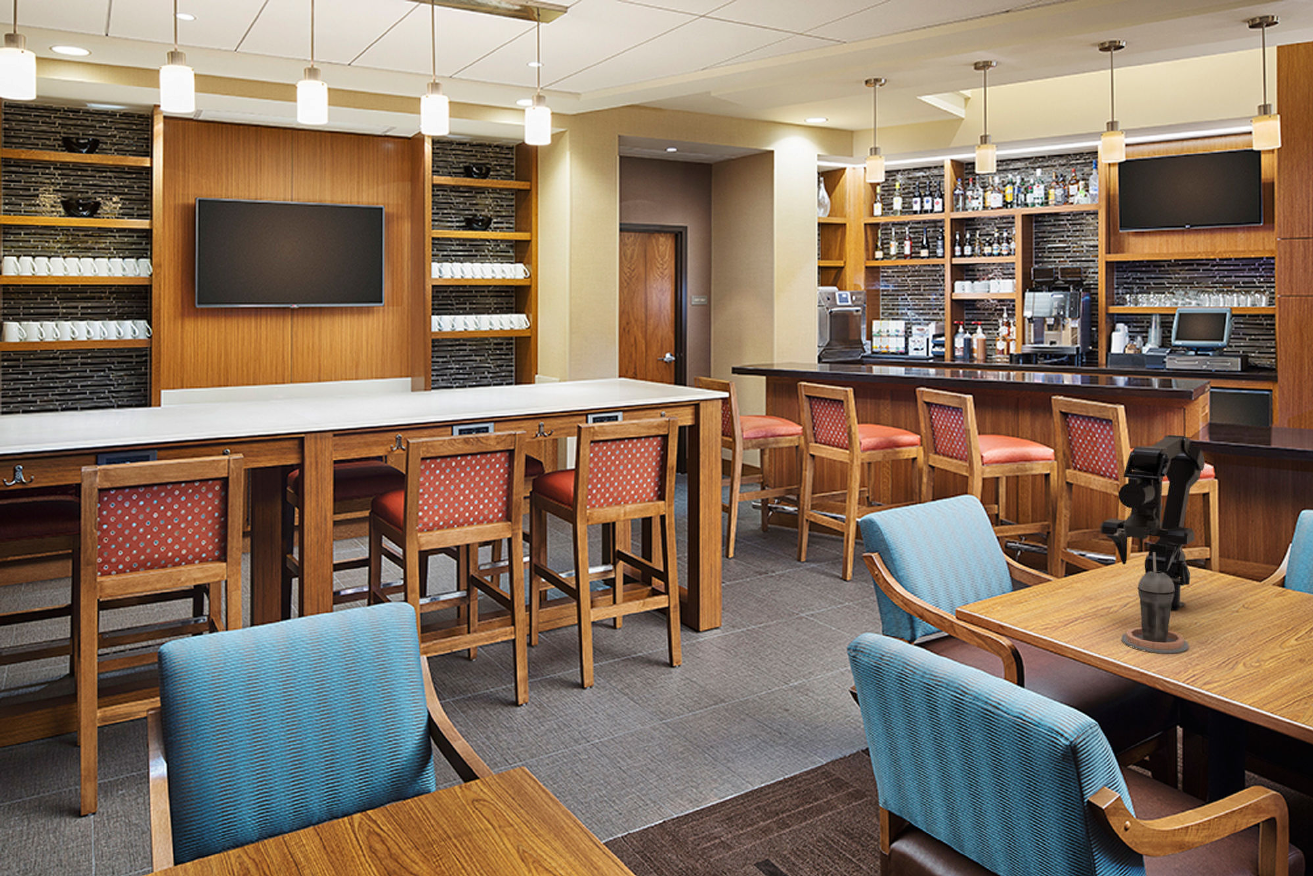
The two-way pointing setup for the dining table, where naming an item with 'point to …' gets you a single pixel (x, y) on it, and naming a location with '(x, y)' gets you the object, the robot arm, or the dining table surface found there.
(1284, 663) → the dining table surface
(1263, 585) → the dining table surface
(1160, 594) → the beverage cup
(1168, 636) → the cup holder
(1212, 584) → the dining table surface
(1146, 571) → the robot arm
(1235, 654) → the dining table surface
